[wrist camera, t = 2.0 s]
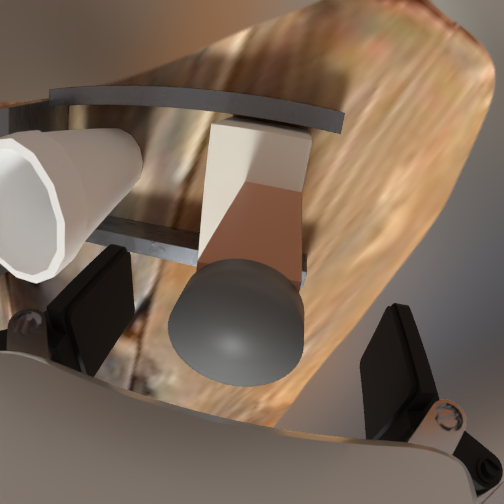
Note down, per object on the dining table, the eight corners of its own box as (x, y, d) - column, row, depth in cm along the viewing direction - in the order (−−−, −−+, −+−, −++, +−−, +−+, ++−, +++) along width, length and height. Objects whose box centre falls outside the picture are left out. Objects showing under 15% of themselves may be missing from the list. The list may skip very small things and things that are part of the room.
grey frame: (302, 269, 29) (301, 327, 22) (45, 216, 30) (-3, 249, 23) (339, 111, 22) (358, 118, 15) (41, 89, 24) (-18, 99, 17)
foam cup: (63, 180, 28) (-31, 234, 16) (92, 95, 24) (-20, 116, 12) (136, 226, 29) (55, 307, 18) (176, 141, 25) (83, 185, 14)
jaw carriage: (290, 247, 28) (271, 431, 12) (216, 232, 28) (129, 395, 13) (314, 131, 23) (348, 210, 7) (231, 117, 23) (103, 167, 8)
